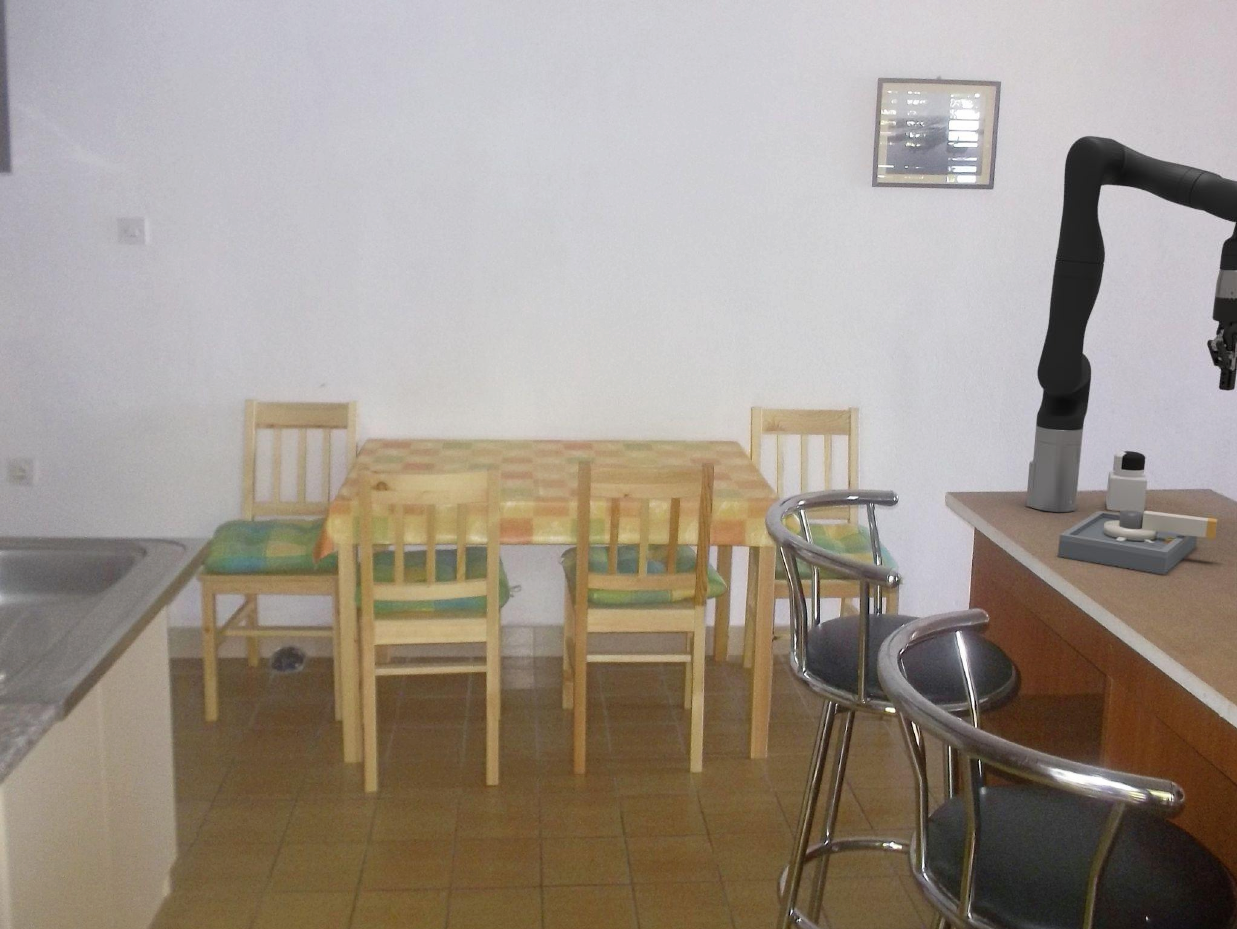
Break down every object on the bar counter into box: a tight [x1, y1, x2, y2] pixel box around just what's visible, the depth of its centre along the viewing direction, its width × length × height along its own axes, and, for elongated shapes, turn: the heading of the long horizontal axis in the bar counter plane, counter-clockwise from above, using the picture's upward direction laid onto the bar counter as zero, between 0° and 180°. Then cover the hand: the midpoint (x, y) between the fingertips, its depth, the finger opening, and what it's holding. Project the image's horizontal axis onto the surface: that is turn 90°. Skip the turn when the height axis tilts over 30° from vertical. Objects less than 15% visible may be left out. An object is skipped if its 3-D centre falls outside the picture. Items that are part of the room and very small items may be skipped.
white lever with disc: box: [1104, 510, 1218, 541], centre depth 221 cm, size 18×9×5 cm, turn 61°
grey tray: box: [1057, 510, 1198, 576], centre depth 224 cm, size 18×24×4 cm
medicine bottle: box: [1105, 450, 1148, 514], centre depth 257 cm, size 7×7×12 cm
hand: (1226, 389), depth 227 cm, fingers closed
